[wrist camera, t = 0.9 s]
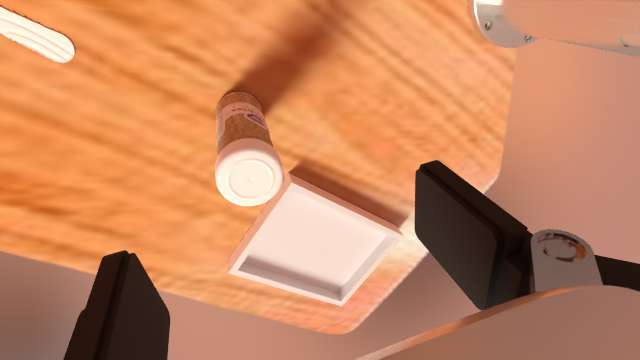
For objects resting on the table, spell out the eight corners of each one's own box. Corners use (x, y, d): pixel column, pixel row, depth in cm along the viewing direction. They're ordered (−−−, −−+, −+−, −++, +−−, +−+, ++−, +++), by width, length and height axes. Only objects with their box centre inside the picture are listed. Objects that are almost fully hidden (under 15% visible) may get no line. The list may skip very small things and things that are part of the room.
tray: (396, 225, 48) (403, 235, 46) (337, 294, 52) (341, 306, 50) (288, 172, 39) (292, 182, 37) (227, 260, 43) (228, 273, 41)
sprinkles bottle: (267, 97, 34) (294, 157, 23) (254, 138, 36) (273, 213, 25) (220, 83, 32) (224, 141, 21) (209, 128, 34) (208, 202, 23)
